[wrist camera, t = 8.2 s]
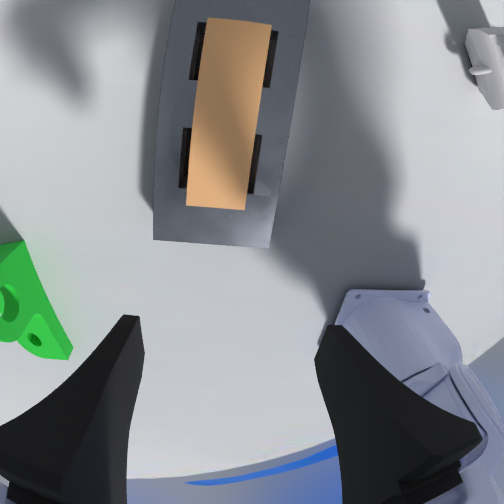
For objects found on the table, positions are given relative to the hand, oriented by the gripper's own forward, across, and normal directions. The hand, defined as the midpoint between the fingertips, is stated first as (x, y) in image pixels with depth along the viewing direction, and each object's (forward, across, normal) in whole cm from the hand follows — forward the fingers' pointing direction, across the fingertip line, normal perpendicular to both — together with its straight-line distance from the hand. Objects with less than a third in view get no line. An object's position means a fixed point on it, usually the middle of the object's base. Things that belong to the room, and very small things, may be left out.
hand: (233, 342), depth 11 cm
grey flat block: (+10, +1, -8) cm, 13 cm away
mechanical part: (+11, +18, +9) cm, 23 cm away
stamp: (+11, -19, -18) cm, 28 cm away
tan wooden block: (+10, +1, -8) cm, 13 cm away
